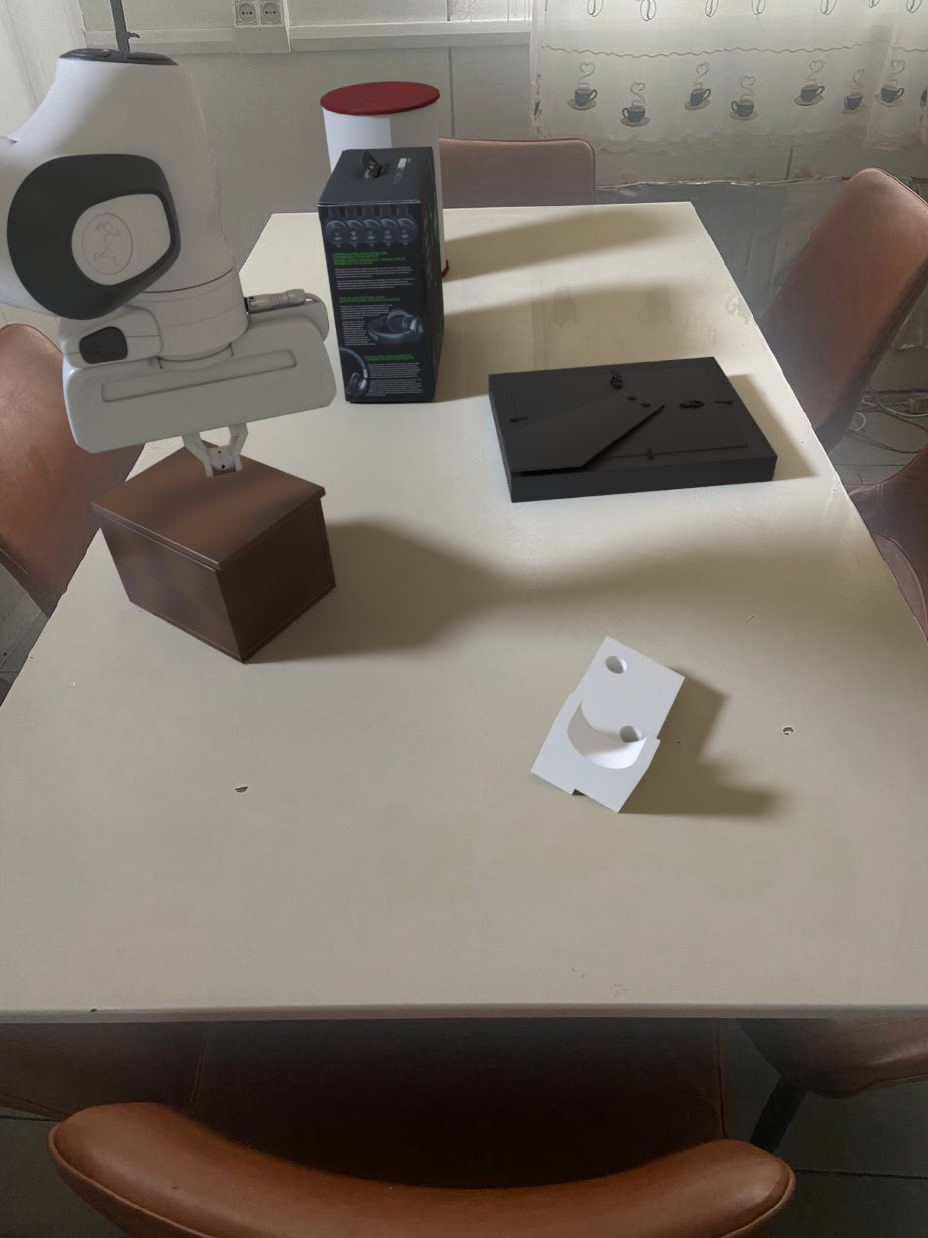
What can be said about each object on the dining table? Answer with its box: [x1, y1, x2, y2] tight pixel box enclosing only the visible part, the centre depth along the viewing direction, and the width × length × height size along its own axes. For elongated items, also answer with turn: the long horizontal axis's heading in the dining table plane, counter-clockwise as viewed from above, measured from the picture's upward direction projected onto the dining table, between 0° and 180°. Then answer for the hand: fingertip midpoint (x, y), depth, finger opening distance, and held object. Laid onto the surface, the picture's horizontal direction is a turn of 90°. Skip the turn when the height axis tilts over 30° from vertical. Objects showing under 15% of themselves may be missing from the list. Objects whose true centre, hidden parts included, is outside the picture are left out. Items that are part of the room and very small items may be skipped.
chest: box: [93, 498, 337, 664], centre depth 82 cm, size 16×13×11 cm
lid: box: [90, 438, 327, 571], centre depth 78 cm, size 16×13×1 cm
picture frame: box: [487, 356, 779, 503], centre depth 103 cm, size 23×4×28 cm
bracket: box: [530, 635, 686, 814], centre depth 68 cm, size 13×7×8 cm, turn 152°
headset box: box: [316, 146, 445, 403], centre depth 111 cm, size 22×12×26 cm, turn 178°
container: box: [319, 80, 450, 278], centre depth 136 cm, size 17×17×25 cm
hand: (224, 470), depth 74 cm, fingers closed
